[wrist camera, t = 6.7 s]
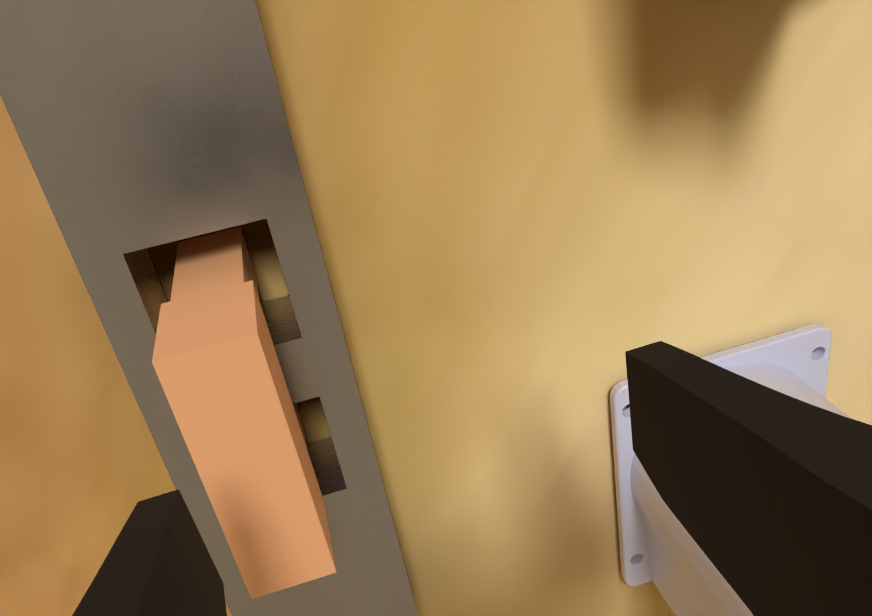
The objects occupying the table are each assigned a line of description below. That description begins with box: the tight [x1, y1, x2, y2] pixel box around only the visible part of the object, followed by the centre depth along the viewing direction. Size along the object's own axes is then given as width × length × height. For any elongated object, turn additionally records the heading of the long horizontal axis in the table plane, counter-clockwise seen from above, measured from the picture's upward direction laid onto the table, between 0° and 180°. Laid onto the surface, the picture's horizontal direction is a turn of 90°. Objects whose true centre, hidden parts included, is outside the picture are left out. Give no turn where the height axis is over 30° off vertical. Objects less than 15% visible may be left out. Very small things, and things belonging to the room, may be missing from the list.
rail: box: [0, 0, 418, 616], centre depth 20 cm, size 24×5×2 cm, turn 9°
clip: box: [152, 227, 336, 599], centre depth 19 cm, size 7×2×6 cm, turn 9°
